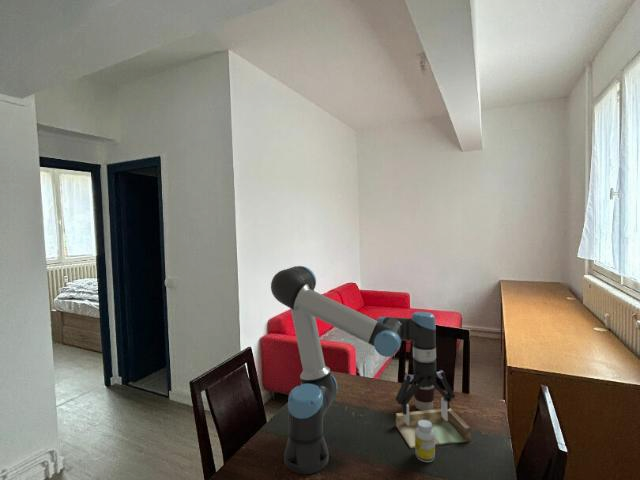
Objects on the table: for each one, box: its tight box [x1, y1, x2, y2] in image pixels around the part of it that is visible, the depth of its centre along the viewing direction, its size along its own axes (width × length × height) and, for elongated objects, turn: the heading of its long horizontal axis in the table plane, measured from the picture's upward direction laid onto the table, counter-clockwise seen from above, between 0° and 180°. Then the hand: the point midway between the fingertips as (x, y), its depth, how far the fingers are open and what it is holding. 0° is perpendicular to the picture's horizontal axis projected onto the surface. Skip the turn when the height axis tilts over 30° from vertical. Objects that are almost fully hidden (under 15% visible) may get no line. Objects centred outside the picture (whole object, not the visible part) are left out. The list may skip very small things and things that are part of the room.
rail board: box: [395, 408, 472, 449], centre depth 129 cm, size 23×14×5 cm, turn 99°
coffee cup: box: [412, 379, 437, 411], centre depth 148 cm, size 10×10×15 cm
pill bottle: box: [414, 420, 436, 463], centre depth 116 cm, size 6×6×12 cm
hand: (425, 420), depth 116 cm, fingers open, 13 cm apart
